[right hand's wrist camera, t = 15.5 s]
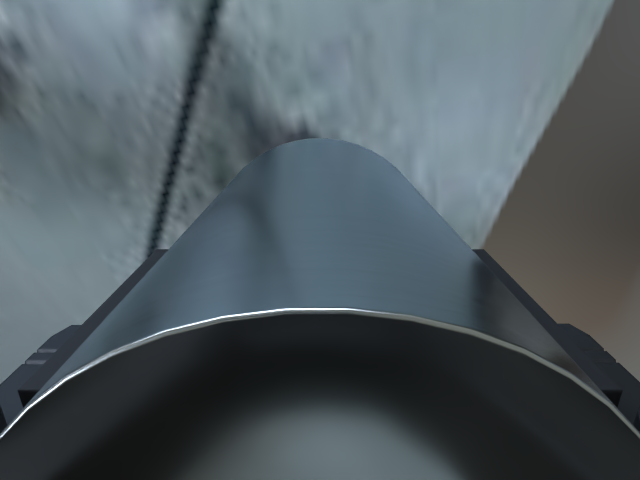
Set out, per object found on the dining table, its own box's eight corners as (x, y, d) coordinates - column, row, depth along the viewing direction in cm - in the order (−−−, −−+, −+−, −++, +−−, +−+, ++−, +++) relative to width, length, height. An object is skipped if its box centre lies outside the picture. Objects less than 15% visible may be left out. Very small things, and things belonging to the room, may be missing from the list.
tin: (174, 275, 18) (-125, 670, 6) (285, 89, 15) (153, 110, 3) (347, 370, 20) (390, 825, 8) (472, 218, 17) (846, 547, 5)
